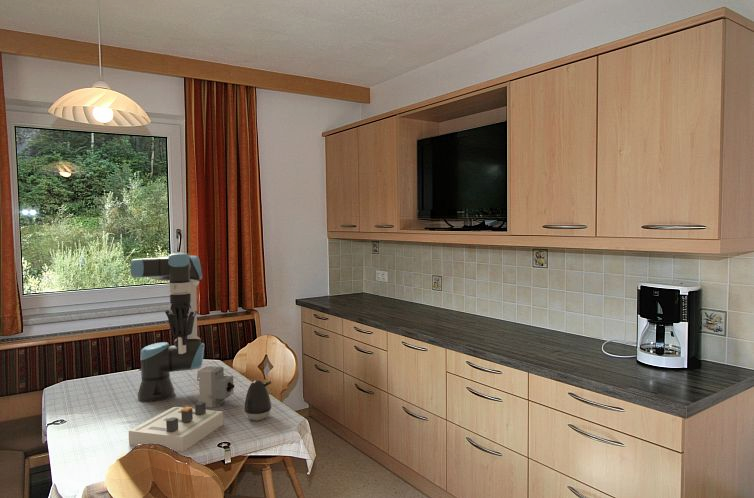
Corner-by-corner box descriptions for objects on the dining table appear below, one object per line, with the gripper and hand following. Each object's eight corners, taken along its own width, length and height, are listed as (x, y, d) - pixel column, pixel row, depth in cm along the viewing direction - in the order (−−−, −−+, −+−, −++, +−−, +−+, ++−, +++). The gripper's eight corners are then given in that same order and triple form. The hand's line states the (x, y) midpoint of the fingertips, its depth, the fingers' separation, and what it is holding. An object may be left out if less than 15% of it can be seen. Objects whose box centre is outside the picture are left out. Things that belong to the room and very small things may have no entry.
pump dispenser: (272, 421, 197) (271, 383, 196) (244, 424, 195) (243, 385, 194) (271, 412, 207) (270, 375, 206) (245, 414, 205) (244, 377, 204)
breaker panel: (129, 444, 178) (128, 419, 178) (174, 419, 201) (173, 396, 201) (182, 451, 172) (181, 425, 171) (223, 424, 195) (222, 401, 194)
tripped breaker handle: (181, 421, 184) (181, 409, 184) (187, 418, 187) (186, 406, 187) (187, 422, 183) (187, 410, 183) (192, 419, 186) (192, 407, 186)
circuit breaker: (229, 408, 212) (228, 372, 211) (198, 406, 215) (196, 371, 214) (237, 401, 220) (236, 367, 219) (207, 400, 222) (206, 366, 222)
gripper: (159, 294, 197) (161, 354, 198) (188, 294, 193) (190, 356, 194) (172, 291, 204) (174, 349, 205) (200, 292, 200) (202, 351, 201)
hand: (182, 352), depth 200 cm, fingers closed
